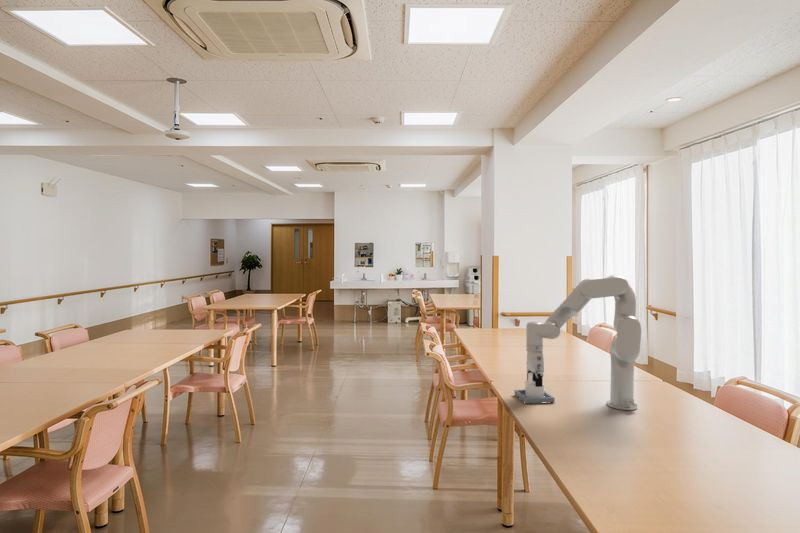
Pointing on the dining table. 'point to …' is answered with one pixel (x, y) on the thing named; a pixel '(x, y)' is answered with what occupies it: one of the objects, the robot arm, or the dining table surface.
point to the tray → (533, 400)
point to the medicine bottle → (533, 387)
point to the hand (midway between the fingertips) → (534, 383)
